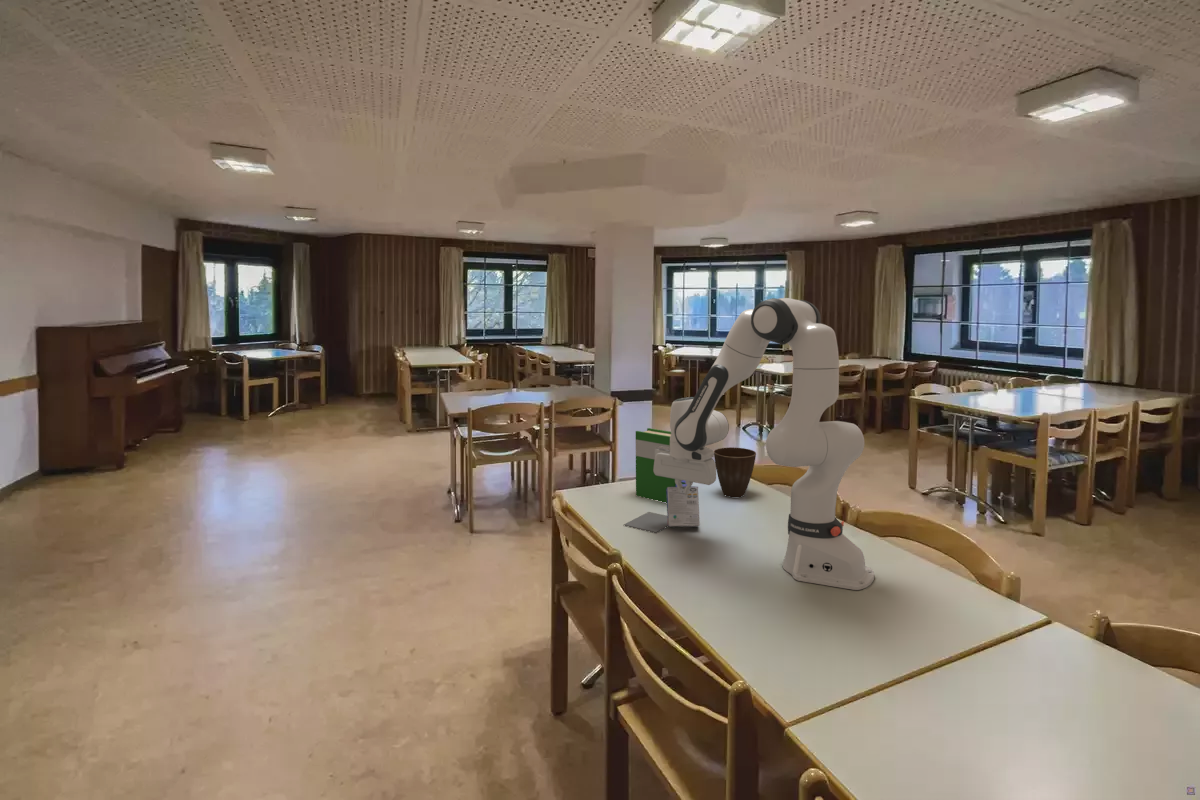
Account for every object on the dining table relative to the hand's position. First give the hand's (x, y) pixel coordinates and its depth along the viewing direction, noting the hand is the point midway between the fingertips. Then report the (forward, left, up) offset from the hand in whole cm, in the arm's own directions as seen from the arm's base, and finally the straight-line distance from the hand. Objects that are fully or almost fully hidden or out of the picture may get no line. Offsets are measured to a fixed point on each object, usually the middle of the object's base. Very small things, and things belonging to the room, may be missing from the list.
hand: (683, 493), depth 197 cm
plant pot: (+2, -42, -12) cm, 44 cm away
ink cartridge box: (0, 0, -11) cm, 11 cm away
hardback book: (+22, -24, -12) cm, 35 cm away
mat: (+11, 0, -12) cm, 16 cm away
